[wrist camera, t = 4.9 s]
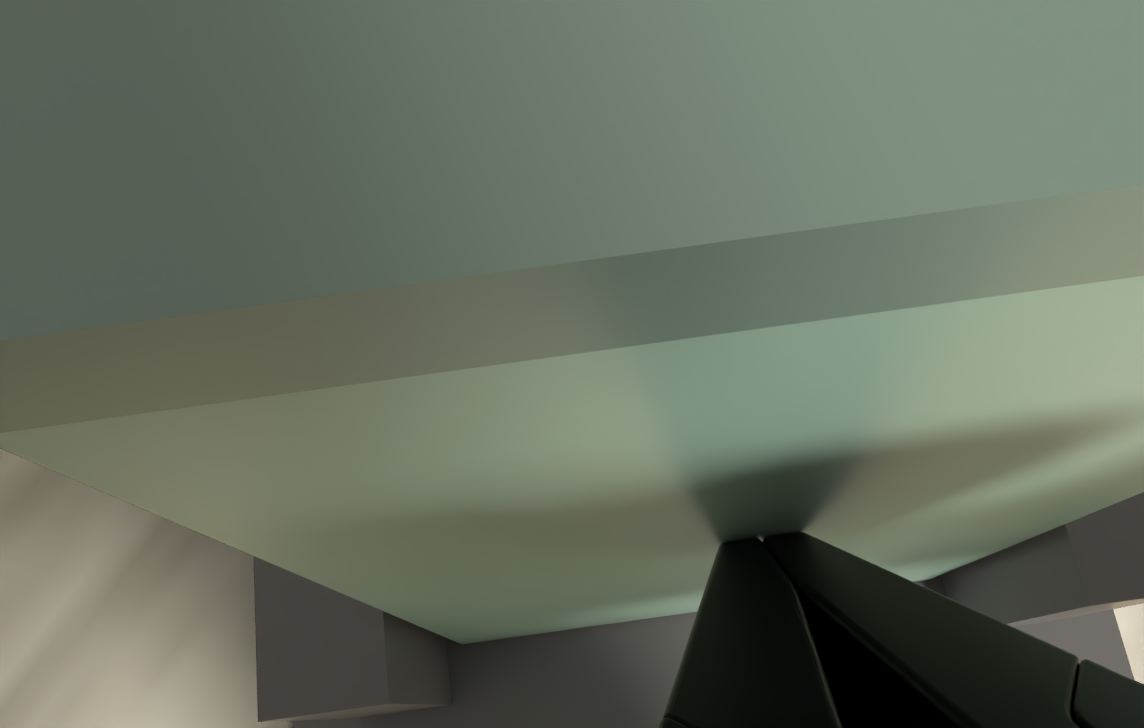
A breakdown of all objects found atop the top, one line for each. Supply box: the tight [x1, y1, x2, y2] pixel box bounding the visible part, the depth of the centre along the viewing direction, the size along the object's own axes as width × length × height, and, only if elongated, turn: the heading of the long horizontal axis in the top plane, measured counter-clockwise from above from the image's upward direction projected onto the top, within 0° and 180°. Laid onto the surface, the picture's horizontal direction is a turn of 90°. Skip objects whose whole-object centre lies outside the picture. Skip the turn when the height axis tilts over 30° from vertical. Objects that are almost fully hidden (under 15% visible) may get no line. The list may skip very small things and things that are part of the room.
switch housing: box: [254, 492, 1144, 728], centre depth 17 cm, size 17×14×7 cm
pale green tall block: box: [0, 0, 1144, 644], centre depth 11 cm, size 5×8×15 cm, turn 98°
